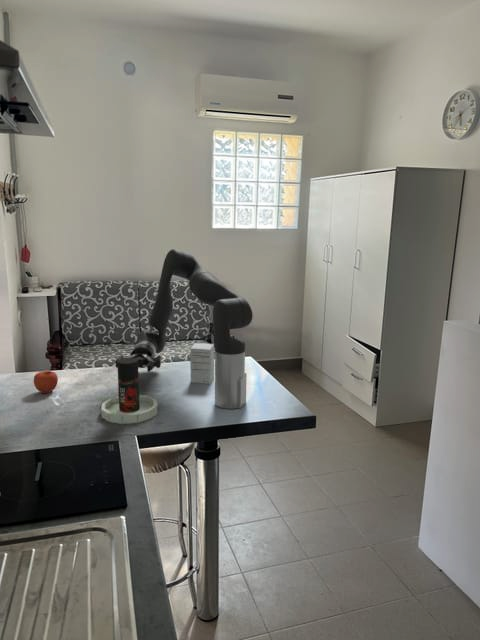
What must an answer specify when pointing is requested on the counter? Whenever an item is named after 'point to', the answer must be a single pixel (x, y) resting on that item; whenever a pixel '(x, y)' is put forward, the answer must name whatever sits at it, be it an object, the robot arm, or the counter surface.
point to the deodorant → (128, 385)
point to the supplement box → (202, 363)
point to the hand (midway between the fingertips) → (134, 368)
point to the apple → (45, 381)
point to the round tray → (116, 416)
